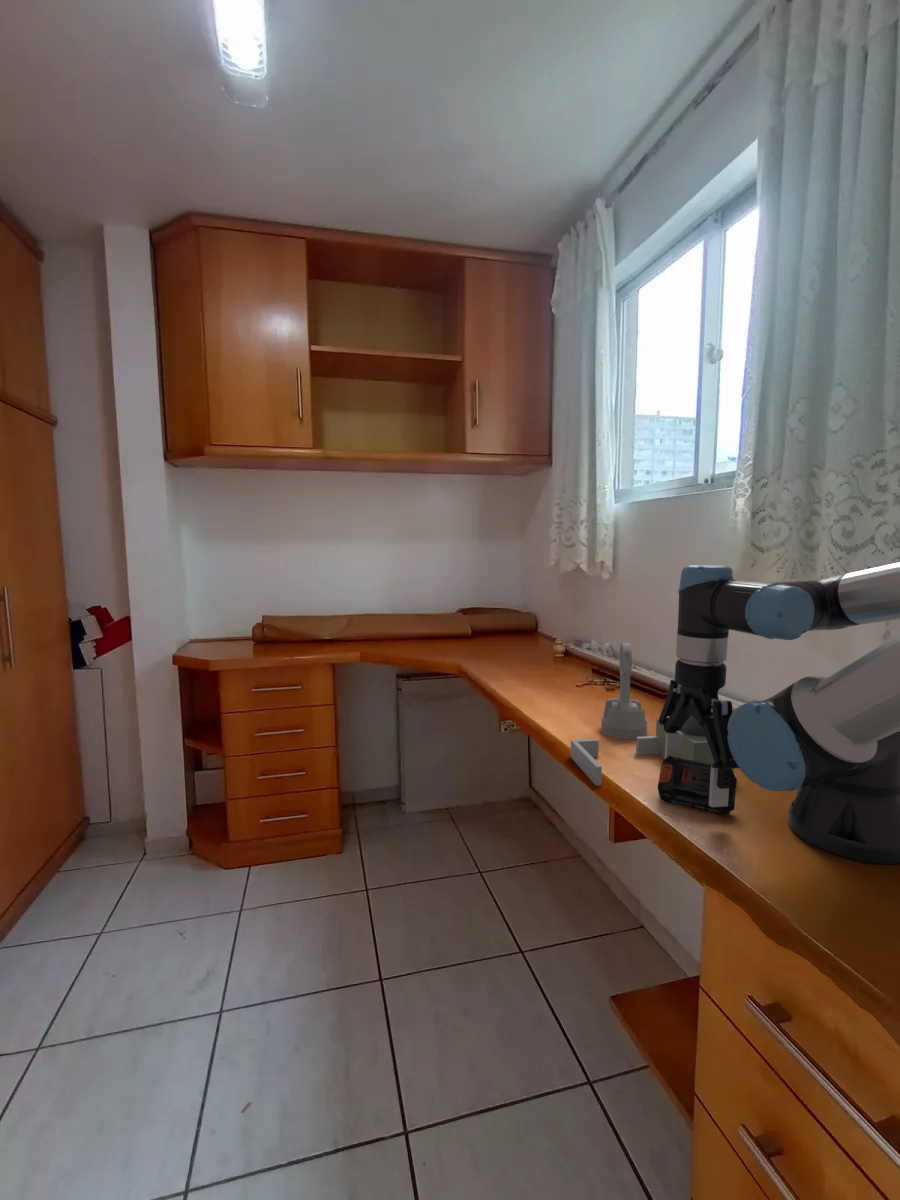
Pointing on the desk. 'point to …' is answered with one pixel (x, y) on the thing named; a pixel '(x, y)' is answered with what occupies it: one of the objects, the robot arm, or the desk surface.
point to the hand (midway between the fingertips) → (693, 785)
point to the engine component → (624, 705)
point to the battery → (691, 785)
